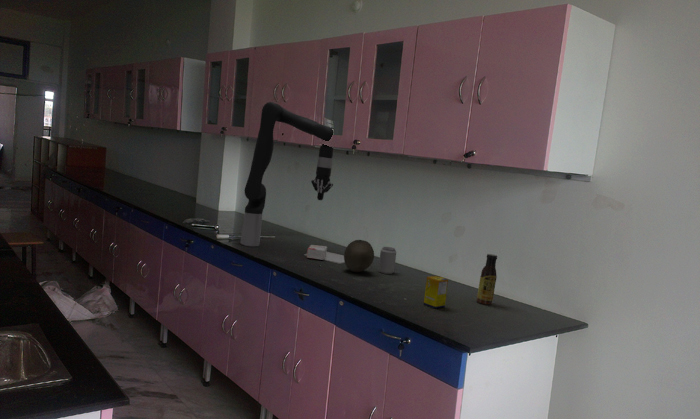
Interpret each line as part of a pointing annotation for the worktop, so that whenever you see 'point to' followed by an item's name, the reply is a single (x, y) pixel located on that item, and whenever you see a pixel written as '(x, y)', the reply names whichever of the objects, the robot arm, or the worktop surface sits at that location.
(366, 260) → the cantaloupe
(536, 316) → the worktop surface
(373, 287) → the worktop surface
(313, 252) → the ink cartridge box
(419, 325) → the worktop surface
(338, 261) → the mat
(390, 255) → the can
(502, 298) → the worktop surface
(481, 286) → the sauce bottle
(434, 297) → the supplement box
